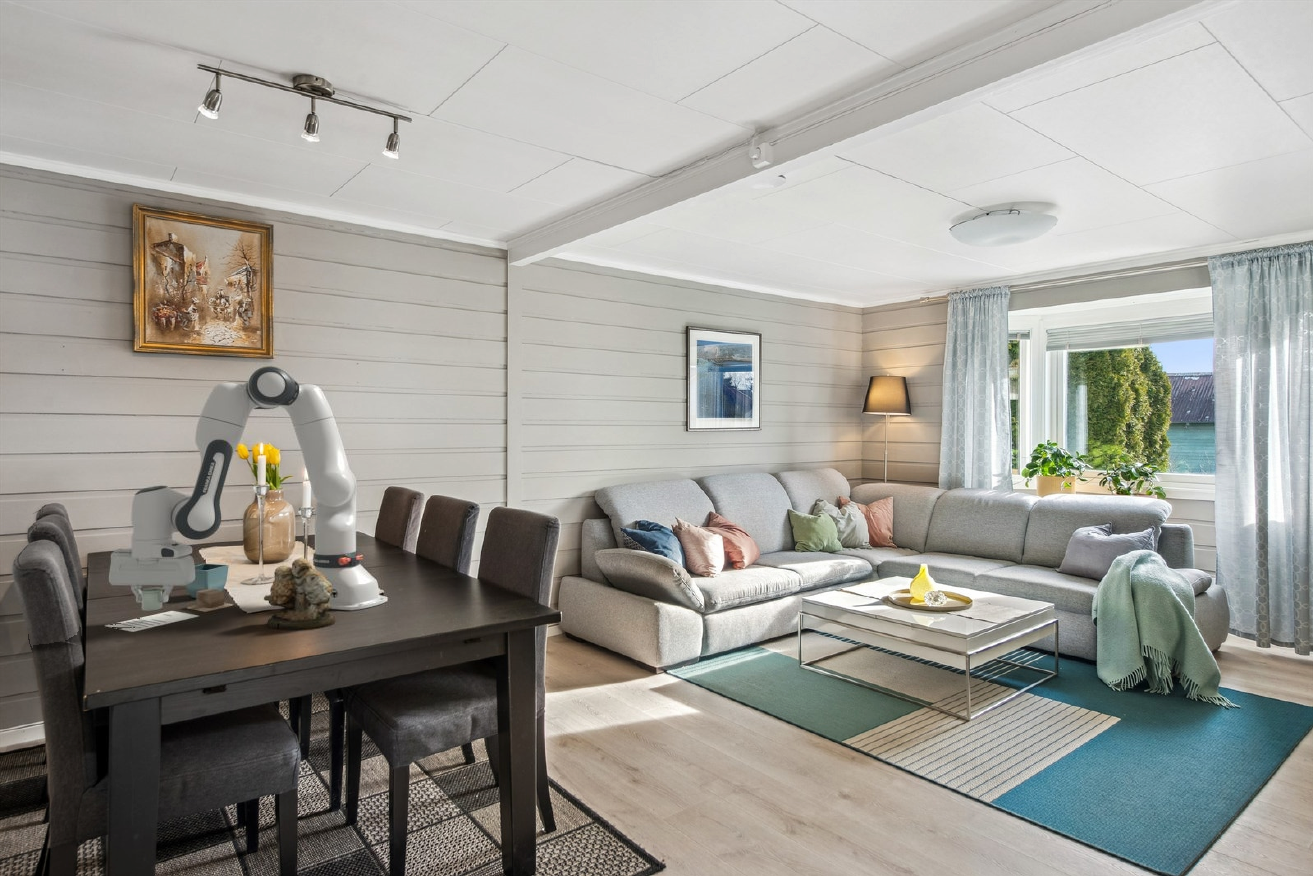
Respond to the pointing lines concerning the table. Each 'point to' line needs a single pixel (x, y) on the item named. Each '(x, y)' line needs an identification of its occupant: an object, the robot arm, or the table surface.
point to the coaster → (208, 608)
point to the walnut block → (210, 598)
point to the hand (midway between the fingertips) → (152, 602)
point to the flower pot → (208, 578)
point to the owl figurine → (300, 597)
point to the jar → (151, 598)
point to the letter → (153, 620)
